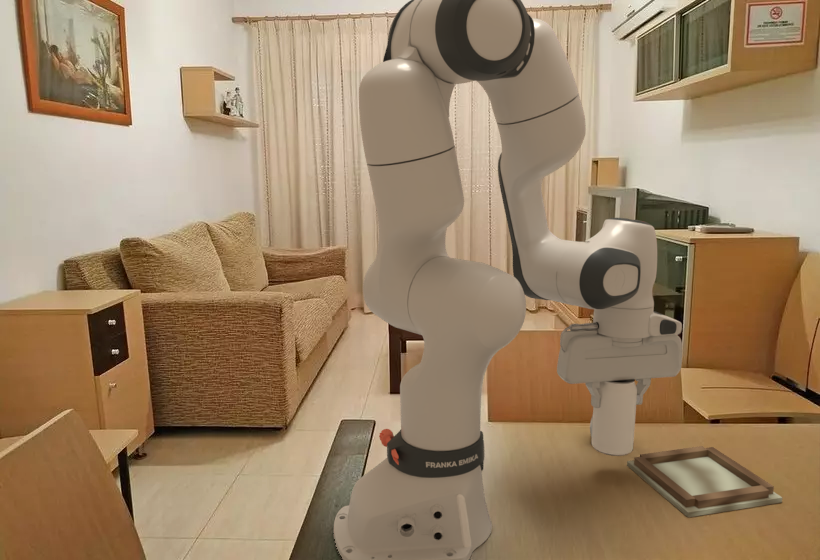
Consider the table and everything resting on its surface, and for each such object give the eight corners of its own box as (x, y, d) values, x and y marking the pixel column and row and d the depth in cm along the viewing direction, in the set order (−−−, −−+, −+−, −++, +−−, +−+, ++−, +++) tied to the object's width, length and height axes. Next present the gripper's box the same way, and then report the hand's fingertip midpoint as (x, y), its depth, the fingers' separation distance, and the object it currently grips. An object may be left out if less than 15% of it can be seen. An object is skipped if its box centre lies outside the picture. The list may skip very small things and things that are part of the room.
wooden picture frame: (687, 517, 90) (688, 504, 90) (626, 465, 105) (627, 454, 105) (781, 502, 93) (783, 490, 93) (709, 454, 109) (710, 443, 108)
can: (641, 454, 99) (646, 382, 97) (604, 458, 97) (609, 385, 96) (618, 438, 105) (623, 370, 103) (583, 442, 104) (587, 372, 102)
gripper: (571, 329, 93) (566, 417, 95) (691, 323, 97) (684, 407, 99) (552, 319, 99) (548, 402, 101) (666, 314, 103) (659, 394, 106)
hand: (616, 405), depth 100 cm, fingers closed on can, 5 cm apart
